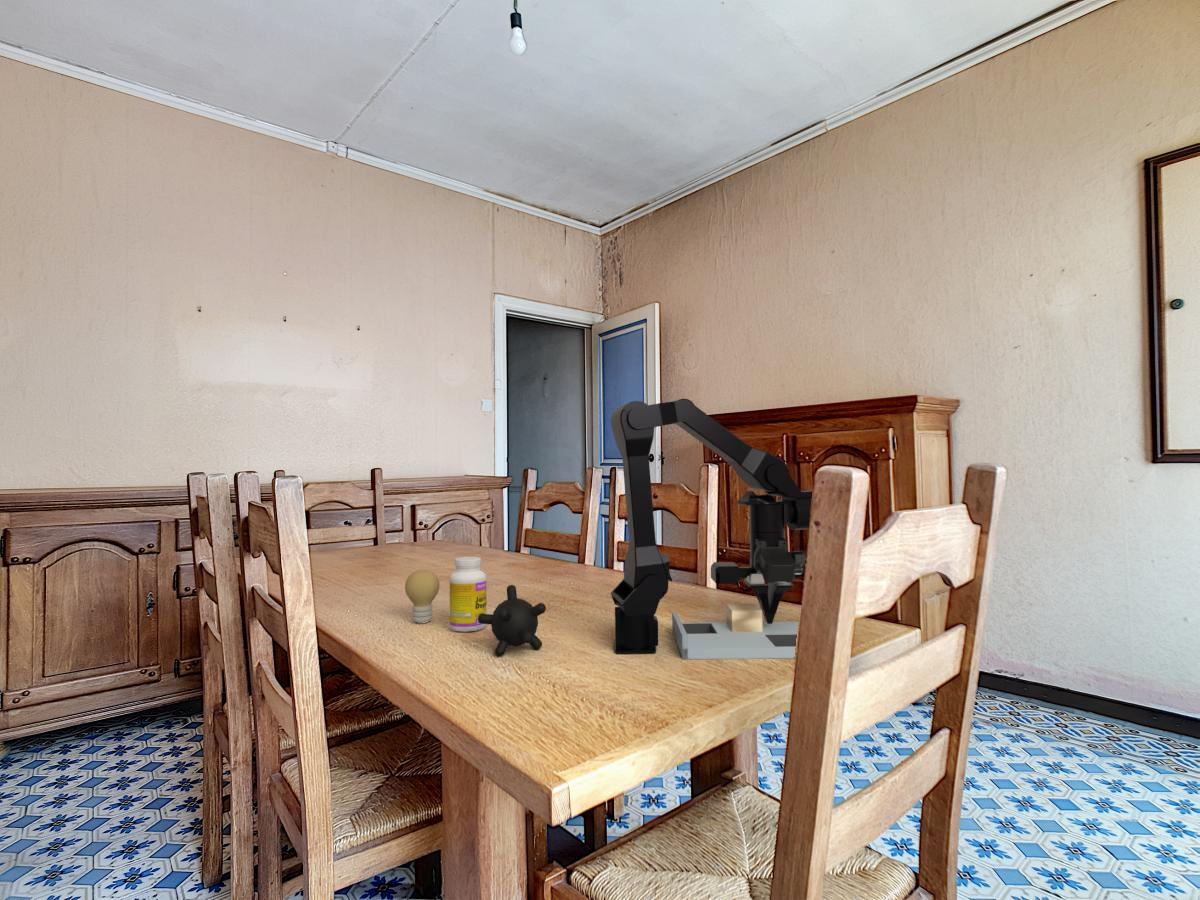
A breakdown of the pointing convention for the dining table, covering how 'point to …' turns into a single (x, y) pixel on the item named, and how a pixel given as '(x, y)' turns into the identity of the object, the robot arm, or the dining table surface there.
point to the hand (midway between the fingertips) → (769, 623)
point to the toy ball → (514, 622)
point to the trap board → (734, 640)
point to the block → (744, 617)
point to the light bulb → (422, 593)
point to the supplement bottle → (467, 595)
